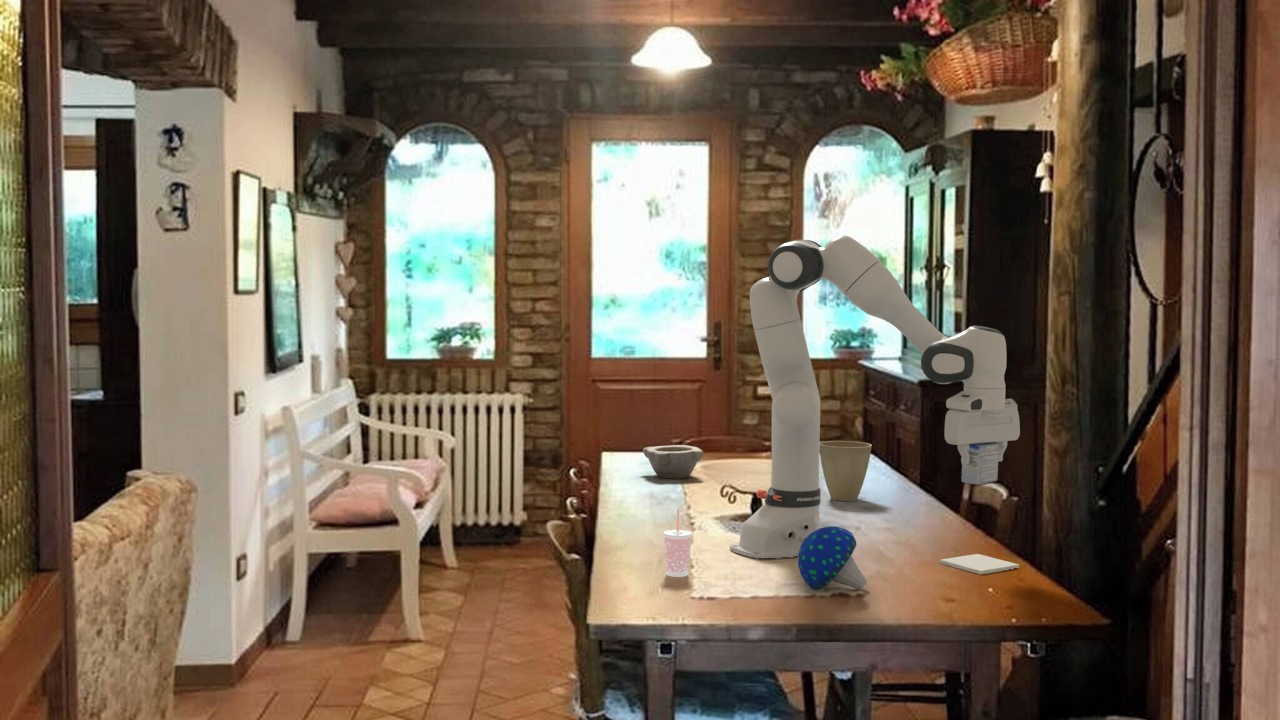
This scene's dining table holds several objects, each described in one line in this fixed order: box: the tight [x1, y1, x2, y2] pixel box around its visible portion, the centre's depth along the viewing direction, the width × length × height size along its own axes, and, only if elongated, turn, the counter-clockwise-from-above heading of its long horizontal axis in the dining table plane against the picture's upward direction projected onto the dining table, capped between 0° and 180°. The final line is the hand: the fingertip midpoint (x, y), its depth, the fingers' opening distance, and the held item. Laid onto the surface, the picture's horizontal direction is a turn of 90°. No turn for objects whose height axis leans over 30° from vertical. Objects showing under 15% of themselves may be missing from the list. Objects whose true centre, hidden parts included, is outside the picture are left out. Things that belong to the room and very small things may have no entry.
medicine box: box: [960, 442, 999, 485], centre depth 272 cm, size 8×4×9 cm, turn 133°
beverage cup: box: [663, 508, 693, 578], centre depth 262 cm, size 6×6×14 cm
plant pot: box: [819, 440, 873, 502], centre depth 353 cm, size 15×15×16 cm
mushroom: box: [797, 525, 868, 591], centre depth 252 cm, size 14×14×15 cm
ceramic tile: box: [939, 553, 1020, 575], centre depth 274 cm, size 12×12×1 cm
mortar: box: [642, 444, 704, 480], centre depth 389 cm, size 17×17×9 cm
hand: (982, 462), depth 272 cm, fingers closed on medicine box, 8 cm apart
